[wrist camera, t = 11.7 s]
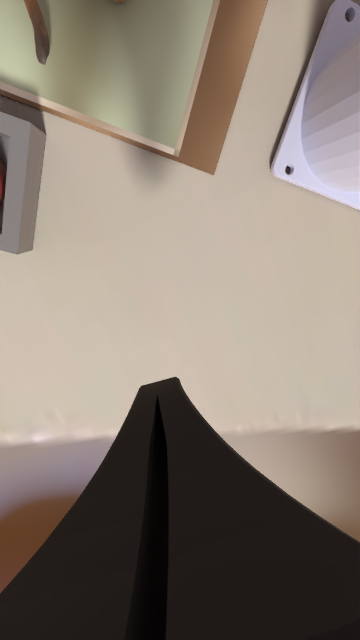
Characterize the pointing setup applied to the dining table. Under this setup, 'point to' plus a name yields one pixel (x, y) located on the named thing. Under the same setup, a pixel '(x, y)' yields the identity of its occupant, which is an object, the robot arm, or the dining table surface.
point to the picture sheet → (136, 68)
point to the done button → (2, 182)
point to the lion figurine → (41, 30)
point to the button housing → (20, 182)
